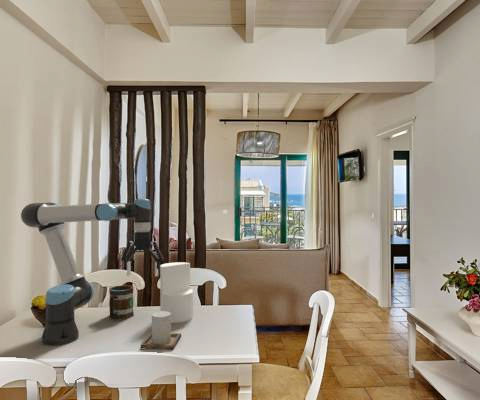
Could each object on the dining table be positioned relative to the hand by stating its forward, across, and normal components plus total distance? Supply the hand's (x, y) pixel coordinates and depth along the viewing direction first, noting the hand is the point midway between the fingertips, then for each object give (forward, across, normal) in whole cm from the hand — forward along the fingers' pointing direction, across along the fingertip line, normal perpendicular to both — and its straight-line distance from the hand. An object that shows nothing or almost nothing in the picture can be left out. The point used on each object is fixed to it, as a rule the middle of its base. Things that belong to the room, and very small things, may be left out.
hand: (142, 275), depth 174 cm
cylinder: (+27, +11, +22) cm, 36 cm away
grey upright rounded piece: (+26, +13, -13) cm, 32 cm away
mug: (+27, -20, +20) cm, 39 cm away
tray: (+27, +13, -13) cm, 32 cm away
